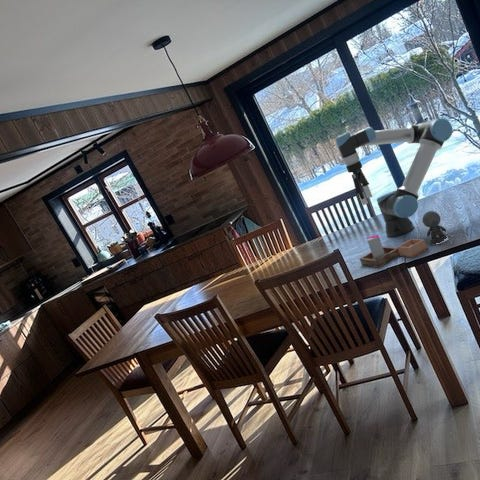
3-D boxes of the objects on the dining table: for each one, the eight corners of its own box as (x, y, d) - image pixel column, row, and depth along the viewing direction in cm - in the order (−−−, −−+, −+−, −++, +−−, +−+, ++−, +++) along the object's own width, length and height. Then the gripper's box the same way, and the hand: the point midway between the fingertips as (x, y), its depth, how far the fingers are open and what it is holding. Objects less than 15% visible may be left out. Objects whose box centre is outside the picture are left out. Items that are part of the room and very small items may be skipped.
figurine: (447, 235, 211) (437, 206, 209) (450, 241, 202) (439, 211, 200) (429, 240, 214) (418, 212, 212) (431, 247, 205) (420, 218, 203)
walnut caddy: (383, 252, 226) (381, 246, 226) (401, 254, 213) (398, 248, 212) (361, 264, 223) (359, 258, 223) (378, 267, 210) (375, 261, 209)
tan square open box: (415, 247, 213) (411, 238, 213) (427, 249, 205) (424, 239, 204) (400, 256, 211) (396, 246, 210) (412, 257, 203) (409, 248, 202)
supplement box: (386, 258, 215) (378, 236, 213) (374, 261, 216) (366, 241, 215) (386, 254, 220) (377, 233, 218) (374, 258, 222) (366, 237, 220)
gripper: (350, 161, 238) (364, 196, 242) (340, 170, 217) (356, 209, 221) (364, 155, 234) (378, 192, 238) (355, 165, 213) (370, 204, 217)
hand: (367, 200), depth 229 cm, fingers open, 13 cm apart
